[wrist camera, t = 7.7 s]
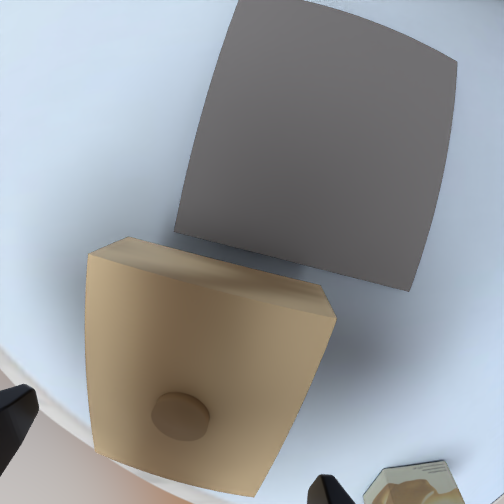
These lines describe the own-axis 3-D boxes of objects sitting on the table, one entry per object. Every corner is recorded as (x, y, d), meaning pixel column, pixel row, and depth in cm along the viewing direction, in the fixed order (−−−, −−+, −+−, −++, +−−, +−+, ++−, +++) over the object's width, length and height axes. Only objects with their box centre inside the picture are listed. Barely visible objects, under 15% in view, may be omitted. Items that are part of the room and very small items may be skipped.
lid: (320, 285, 10) (340, 326, 7) (256, 453, 12) (253, 506, 9) (128, 236, 10) (79, 258, 7) (117, 414, 12) (90, 459, 9)
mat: (452, 64, 11) (457, 61, 10) (405, 288, 13) (409, 291, 13) (243, -6, 11) (242, -11, 10) (177, 230, 13) (173, 231, 13)
